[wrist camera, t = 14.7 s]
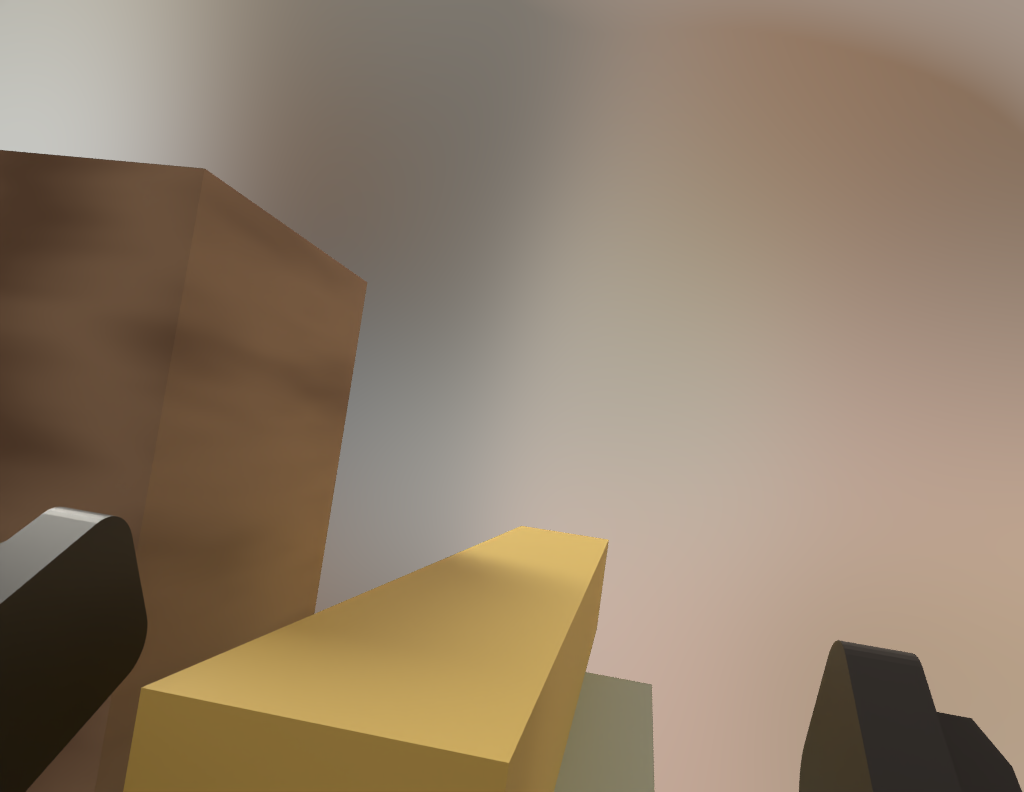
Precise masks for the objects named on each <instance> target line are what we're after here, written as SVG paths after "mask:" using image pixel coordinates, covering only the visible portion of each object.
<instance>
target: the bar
mask: <svg viewBox="0 0 1024 792" xmlns="http://www.w3.org/2000/svg"><path fill="white" fill-rule="evenodd" d="M608 541H609V540H606V539H601V538H594V537H588V536H582V535H575V534H569V533H562V532H556V531H550V530H544V529H537V528H531V527H524V526H520V527H518V528H515V529H513V530H511V531H508V532H506V533H504V534H501V535H499V536H497V537H494V538H492V539H490V540H487V541H485V542H483V543H480V544H478V545H475V546H473V547H471V548H468V549H466V550H464V551H462V552H459V553H457V554H454V555H452V556H450V557H447V558H445V559H443V560H440V561H438V562H436V563H433V564H431V565H428V566H426V567H424V568H422V569H419V570H417V571H414V572H412V573H410V574H407V575H405V576H403V577H400V578H398V579H396V580H393V581H391V582H388V583H386V584H384V585H381V586H379V587H377V588H374V589H372V590H370V591H367V592H365V593H363V594H360V595H358V596H356V597H353V598H351V599H349V600H346V601H344V602H341V603H339V604H337V605H335V606H332V607H330V608H327V609H325V610H323V611H320V612H318V613H316V614H313V615H311V616H308V617H306V618H304V619H301V620H299V621H297V622H294V623H292V624H290V625H287V626H285V627H283V628H280V629H278V630H276V631H273V632H271V633H268V634H266V635H264V636H261V637H259V638H257V639H254V640H252V641H250V642H247V643H245V644H243V645H240V646H238V647H236V648H233V649H231V650H229V651H226V652H224V653H221V654H219V655H217V656H214V657H212V658H210V659H207V660H205V661H203V662H200V663H198V664H196V665H193V666H191V667H189V668H186V669H184V670H181V671H179V672H177V673H174V674H172V675H170V676H167V677H165V678H163V679H160V680H158V681H156V682H153V683H151V684H149V685H146V686H144V687H141V692H140V698H139V704H138V709H137V715H136V721H135V726H134V732H133V738H132V744H131V749H130V755H129V761H128V767H127V772H126V778H125V784H124V790H123V792H554V789H555V785H556V782H557V778H558V774H559V770H560V766H561V763H562V759H563V755H564V751H565V748H566V744H567V740H568V736H569V732H570V729H571V725H572V721H573V717H574V713H575V710H576V706H577V702H578V698H579V694H580V691H581V687H582V683H583V679H584V675H585V672H586V668H587V664H588V660H589V656H590V652H591V649H592V645H593V641H594V637H595V634H596V630H597V622H598V615H599V608H600V600H601V593H602V585H603V578H604V570H605V564H606V556H607V549H608Z"/></svg>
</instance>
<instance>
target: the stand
mask: <svg viewBox="0 0 1024 792" xmlns="http://www.w3.org/2000/svg"><path fill="white" fill-rule="evenodd" d="M366 287H367V282H366V281H364V280H363V279H361V278H360V277H358V276H357V275H356V274H354V273H353V272H351V271H350V270H349V269H347V268H345V267H344V266H343V265H341V264H340V263H339V262H337V261H336V260H334V259H333V258H332V257H330V256H328V255H327V254H326V253H324V252H323V251H322V250H320V249H319V248H317V247H316V246H314V245H313V244H312V243H310V242H309V241H307V240H306V239H304V238H303V237H301V236H300V235H299V234H297V233H296V232H294V231H293V230H292V229H290V228H289V227H287V226H286V225H284V224H283V223H282V222H280V221H279V220H277V219H276V218H274V217H273V216H272V215H270V214H269V213H267V212H266V211H264V210H263V209H262V208H260V207H259V206H257V205H256V204H254V203H253V202H252V201H250V200H248V199H247V198H246V197H244V196H243V195H242V194H240V193H239V192H237V191H236V190H234V189H233V188H232V187H230V186H229V185H227V184H226V183H224V182H223V181H222V180H220V179H219V178H217V177H216V176H214V175H213V174H212V173H210V172H209V171H207V170H206V169H203V168H192V167H181V166H170V165H159V164H147V163H137V162H136V163H135V162H126V161H115V160H103V159H93V158H81V157H71V156H60V155H48V154H37V153H26V152H15V151H4V150H0V543H2V542H4V541H7V540H8V539H9V538H11V537H12V536H13V535H15V534H16V533H17V532H19V531H20V530H21V529H23V528H24V527H25V526H27V525H28V524H29V523H31V522H32V521H33V520H35V519H36V518H37V517H39V516H40V515H41V514H43V513H44V512H46V511H47V510H49V509H52V508H55V507H67V508H73V509H79V510H84V511H90V512H96V513H101V514H107V515H113V516H118V517H120V518H122V519H124V520H125V521H126V522H127V524H128V525H129V527H130V529H131V533H132V537H133V543H134V548H135V553H136V559H137V564H138V570H139V575H140V581H141V586H142V592H143V597H144V603H145V608H146V614H147V621H148V627H147V636H146V640H145V644H144V647H143V650H142V653H141V655H140V657H139V659H138V661H137V663H136V665H135V666H134V668H133V669H132V671H131V672H130V673H129V675H128V676H127V677H126V678H125V679H124V680H123V681H122V683H121V684H120V685H119V686H118V687H117V688H116V689H115V691H114V692H113V693H112V694H111V695H110V696H109V697H108V699H107V700H106V701H105V702H104V703H103V704H102V705H101V707H100V708H99V709H98V710H97V711H96V712H95V713H94V714H93V716H92V717H91V718H90V719H89V720H88V721H87V722H86V724H85V725H84V726H83V727H82V728H81V729H80V730H79V732H78V733H77V734H76V735H75V736H74V737H73V738H72V739H71V741H70V742H69V743H68V744H67V745H66V746H65V747H64V749H63V750H62V751H61V752H60V753H59V754H58V755H57V757H56V758H55V759H54V760H53V761H52V762H51V763H50V764H49V766H48V767H47V768H46V769H45V770H44V771H43V772H42V774H41V775H40V776H39V777H38V778H37V779H36V780H35V782H34V783H33V784H32V785H31V786H30V787H29V788H28V789H27V791H26V792H123V790H124V784H125V778H126V772H127V767H128V761H129V755H130V749H131V744H132V738H133V732H134V726H135V721H136V715H137V709H138V704H139V698H140V692H141V687H144V686H146V685H149V684H151V683H153V682H156V681H158V680H160V679H163V678H165V677H167V676H170V675H172V674H174V673H177V672H179V671H181V670H184V669H186V668H189V667H191V666H193V665H196V664H198V663H200V662H203V661H205V660H207V659H210V658H212V657H214V656H217V655H219V654H221V653H224V652H226V651H229V650H231V649H233V648H236V647H238V646H240V645H243V644H245V643H247V642H250V641H252V640H254V639H257V638H259V637H261V636H264V635H266V634H268V633H271V632H273V631H276V630H278V629H280V628H283V627H285V626H287V625H290V624H292V623H294V622H297V621H299V620H301V619H304V618H306V617H308V616H311V615H313V614H314V612H315V605H316V599H317V593H318V587H319V580H320V574H321V568H322V562H323V556H324V550H325V543H326V537H327V531H328V525H329V518H330V512H331V506H332V500H333V493H334V487H335V481H336V475H337V468H338V462H339V455H340V449H341V443H342V437H343V431H344V425H345V418H346V412H347V406H348V400H349V393H350V387H351V380H352V374H353V368H354V362H355V356H356V350H357V343H358V337H359V331H360V325H361V318H362V312H363V306H364V299H365V294H366Z"/></svg>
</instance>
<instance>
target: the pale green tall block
mask: <svg viewBox="0 0 1024 792" xmlns="http://www.w3.org/2000/svg"><path fill="white" fill-rule="evenodd" d="M653 758H654V757H653V716H652V685H651V684H646V683H640V682H635V681H630V680H625V679H619V678H614V677H608V676H603V675H598V674H593V673H587V672H585V675H584V679H583V683H582V687H581V691H580V694H579V698H578V702H577V706H576V710H575V713H574V717H573V721H572V725H571V729H570V732H569V736H568V740H567V744H566V748H565V751H564V755H563V759H562V763H561V766H560V770H559V774H558V778H557V782H556V785H555V789H554V792H654V759H653Z"/></svg>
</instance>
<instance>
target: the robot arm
mask: <svg viewBox="0 0 1024 792" xmlns="http://www.w3.org/2000/svg"><path fill="white" fill-rule="evenodd" d="M147 627H148V621H147V614H146V608H145V603H144V597H143V592H142V586H141V581H140V575H139V570H138V564H137V559H136V553H135V548H134V543H133V537H132V533H131V529H130V527H129V525H128V524H127V522H126V521H125V520H124V519H122V518H120V517H118V516H113V515H107V514H101V513H96V512H90V511H84V510H79V509H73V508H67V507H55V508H52V509H49V510H47V511H46V512H44V513H43V514H41V515H40V516H39V517H37V518H36V519H35V520H33V521H32V522H31V523H29V524H28V525H27V526H25V527H24V528H23V529H21V530H20V531H19V532H17V533H16V534H15V535H13V536H12V537H11V538H9V539H8V540H7V541H4V542H2V543H0V792H26V791H27V789H28V788H29V787H30V786H31V785H32V784H33V783H34V782H35V780H36V779H37V778H38V777H39V776H40V775H41V774H42V772H43V771H44V770H45V769H46V768H47V767H48V766H49V764H50V763H51V762H52V761H53V760H54V759H55V758H56V757H57V755H58V754H59V753H60V752H61V751H62V750H63V749H64V747H65V746H66V745H67V744H68V743H69V742H70V741H71V739H72V738H73V737H74V736H75V735H76V734H77V733H78V732H79V730H80V729H81V728H82V727H83V726H84V725H85V724H86V722H87V721H88V720H89V719H90V718H91V717H92V716H93V714H94V713H95V712H96V711H97V710H98V709H99V708H100V707H101V705H102V704H103V703H104V702H105V701H106V700H107V699H108V697H109V696H110V695H111V694H112V693H113V692H114V691H115V689H116V688H117V687H118V686H119V685H120V684H121V683H122V681H123V680H124V679H125V678H126V677H127V676H128V675H129V673H130V672H131V671H132V669H133V668H134V666H135V665H136V663H137V661H138V659H139V657H140V655H141V653H142V650H143V647H144V644H145V640H146V636H147ZM799 792H1022V790H1021V788H1020V785H1019V783H1018V780H1017V778H1016V775H1015V773H1014V770H1013V768H1012V766H1011V765H1010V764H1009V762H1008V761H1007V760H1006V759H1005V758H1004V756H1003V755H1002V754H1001V753H1000V752H999V750H998V749H997V748H996V747H995V746H994V745H993V743H992V742H991V741H990V740H989V739H988V737H987V736H986V735H985V734H984V733H983V732H982V730H981V729H980V728H979V727H978V726H977V724H976V723H975V722H974V721H973V720H972V719H971V718H966V717H961V716H956V715H950V714H945V713H939V712H936V709H935V706H934V703H933V699H932V696H931V693H930V690H929V687H928V683H927V680H926V677H925V674H924V671H923V668H922V665H921V662H920V660H919V659H918V657H917V656H916V655H915V654H912V653H907V652H902V651H896V650H890V649H884V648H878V647H873V646H867V645H861V644H856V643H850V642H844V641H839V640H838V641H835V643H834V644H833V645H832V647H831V650H830V652H829V656H828V659H827V663H826V666H825V671H824V674H823V678H822V681H821V685H820V689H819V693H818V696H817V700H816V704H815V707H814V711H813V715H812V718H811V722H810V726H809V730H808V734H807V737H806V741H805V745H804V749H803V754H802V760H801V769H800V781H799Z"/></svg>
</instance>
